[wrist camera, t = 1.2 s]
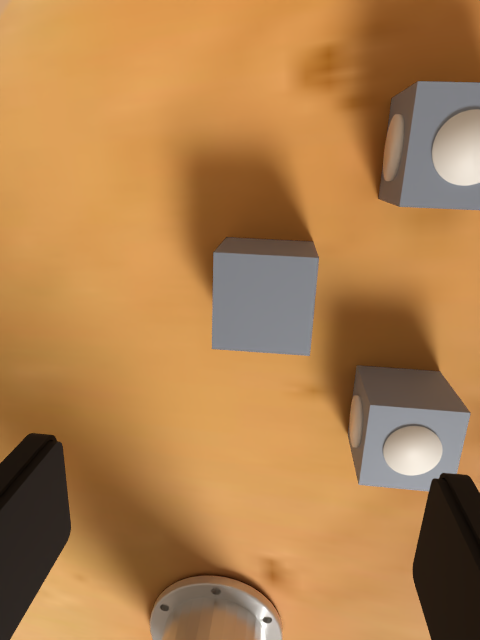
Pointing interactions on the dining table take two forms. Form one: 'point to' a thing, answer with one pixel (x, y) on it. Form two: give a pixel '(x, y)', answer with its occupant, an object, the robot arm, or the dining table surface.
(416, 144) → the badge block
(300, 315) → the plain block
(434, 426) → the badge block
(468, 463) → the dining table surface
